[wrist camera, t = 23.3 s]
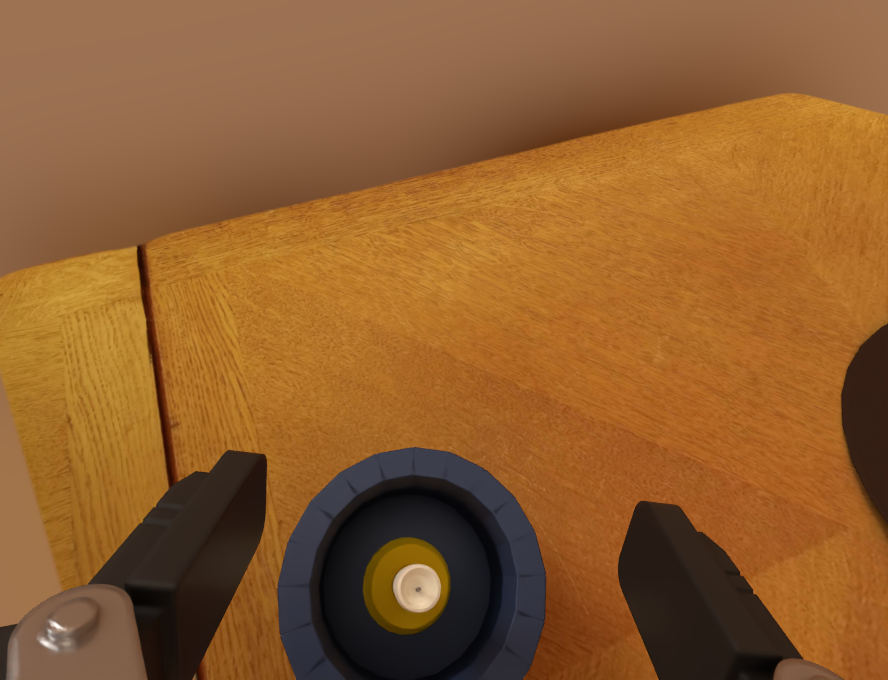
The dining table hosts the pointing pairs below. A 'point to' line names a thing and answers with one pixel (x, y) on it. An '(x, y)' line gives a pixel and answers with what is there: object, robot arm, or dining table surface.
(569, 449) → the dining table surface
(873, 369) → the plate
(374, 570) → the candle
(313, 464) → the dining table surface
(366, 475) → the navy blue cup
